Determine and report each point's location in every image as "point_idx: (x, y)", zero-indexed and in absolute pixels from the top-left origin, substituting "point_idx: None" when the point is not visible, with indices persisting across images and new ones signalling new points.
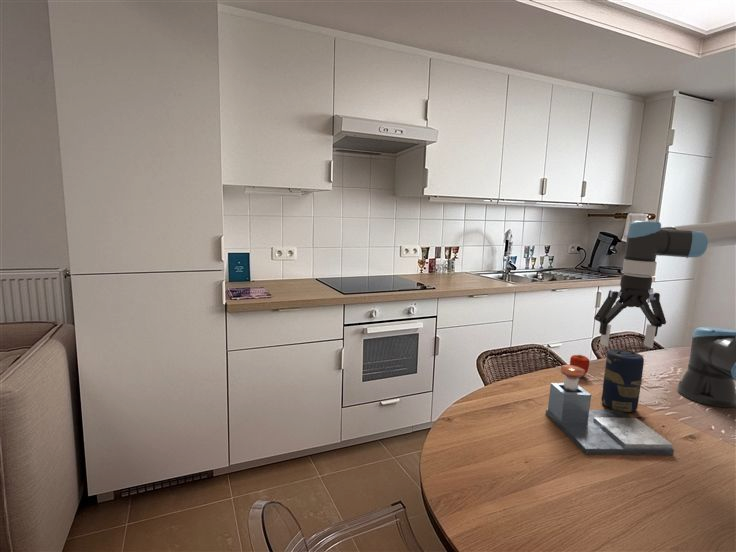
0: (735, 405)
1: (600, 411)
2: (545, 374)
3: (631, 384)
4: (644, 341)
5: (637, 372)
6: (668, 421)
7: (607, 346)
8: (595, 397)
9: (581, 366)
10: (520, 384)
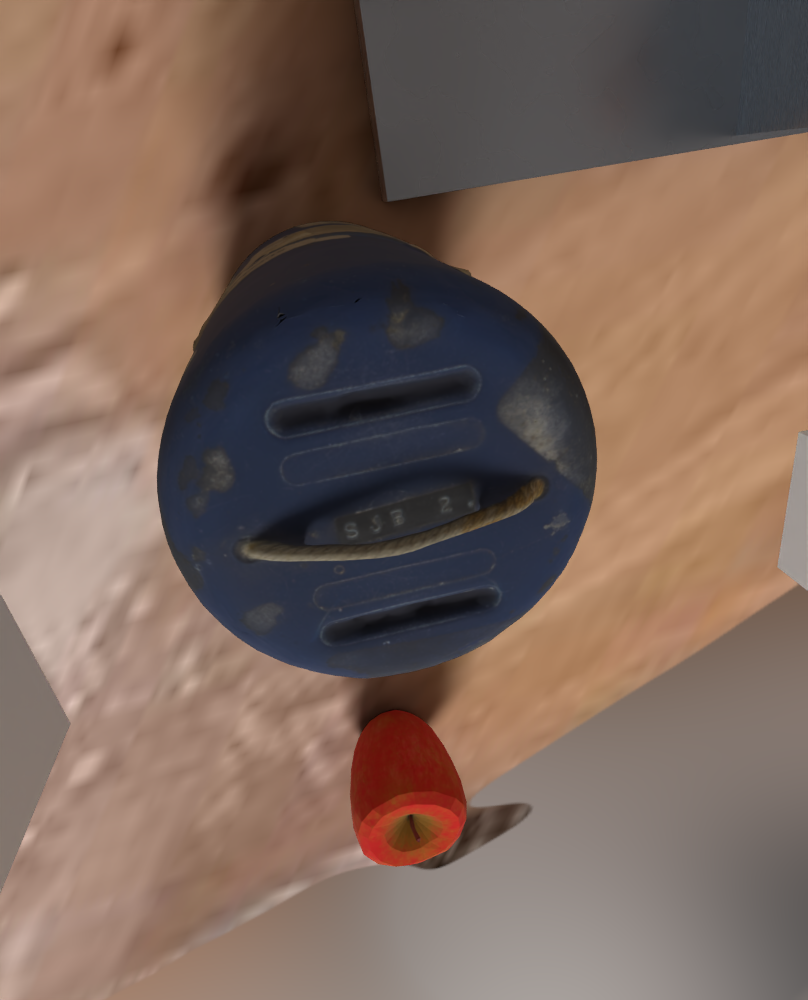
0: None
1: (550, 143)
2: (575, 694)
3: (342, 233)
4: (44, 776)
5: (297, 258)
6: (40, 153)
7: (805, 433)
8: None
9: (415, 754)
10: None
